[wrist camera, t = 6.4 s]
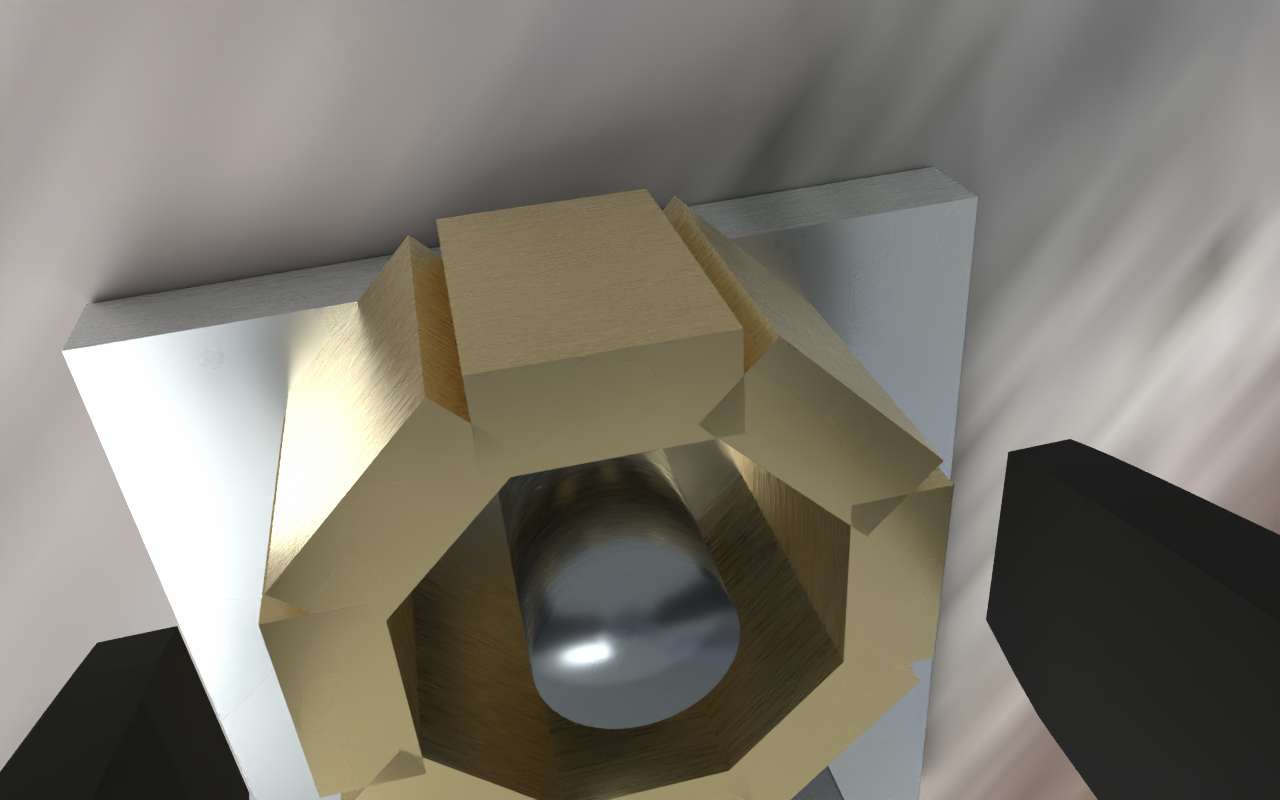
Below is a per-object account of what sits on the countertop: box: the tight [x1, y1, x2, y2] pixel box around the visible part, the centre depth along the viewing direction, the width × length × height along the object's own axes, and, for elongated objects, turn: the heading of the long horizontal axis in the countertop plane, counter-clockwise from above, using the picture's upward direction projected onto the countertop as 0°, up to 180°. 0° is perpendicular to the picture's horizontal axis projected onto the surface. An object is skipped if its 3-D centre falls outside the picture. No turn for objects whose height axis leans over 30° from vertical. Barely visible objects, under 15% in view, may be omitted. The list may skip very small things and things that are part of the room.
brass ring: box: [258, 188, 954, 800], centre depth 10 cm, size 6×6×3 cm
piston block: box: [62, 167, 978, 800], centre depth 12 cm, size 9×12×4 cm
